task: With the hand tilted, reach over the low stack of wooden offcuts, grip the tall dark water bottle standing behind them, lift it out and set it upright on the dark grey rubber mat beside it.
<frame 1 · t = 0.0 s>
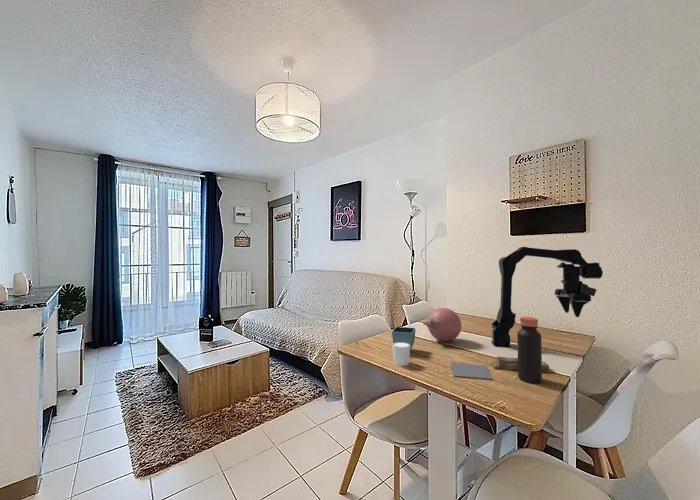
hand: (571, 314, 128), 15 cm above the table, tool pointing down, fingers open, 9 cm apart
pink onion-shaped ball: (440, 341, 141), on the table
grey mat: (469, 371, 105), on the table
white cylinder: (401, 363, 114), on the table
dark water bottle: (529, 380, 98), on the table
offcut stack: (520, 368, 108), on the table
flower pot: (403, 350, 128), on the table
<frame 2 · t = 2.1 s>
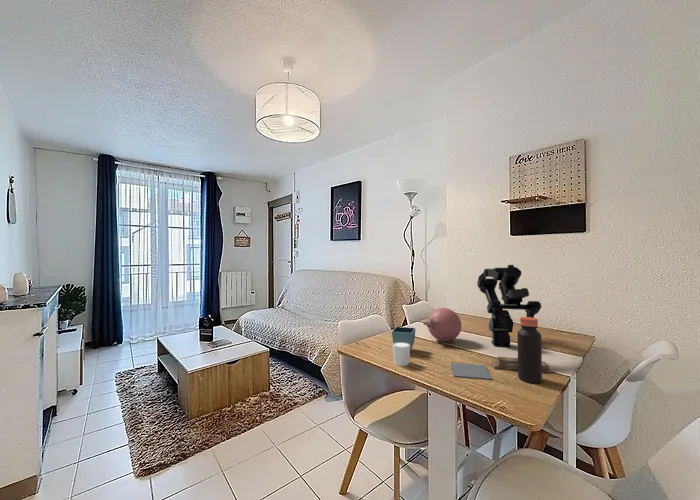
hand: (519, 326, 114), 14 cm above the table, tool tilted 40°, fingers open, 9 cm apart
nothing on the table moved.
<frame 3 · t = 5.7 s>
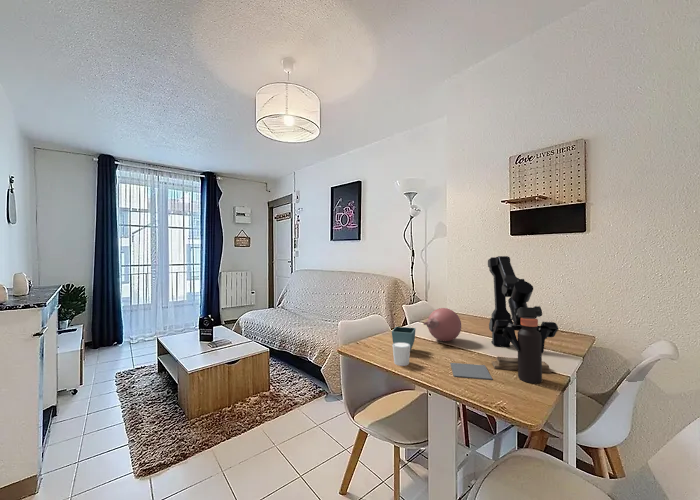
hand: (530, 351, 97), 10 cm above the table, tool tilted 45°, fingers closed on dark water bottle, 7 cm apart
dark water bottle: (529, 380, 98), on the table, touching gripper
everything else where it was.
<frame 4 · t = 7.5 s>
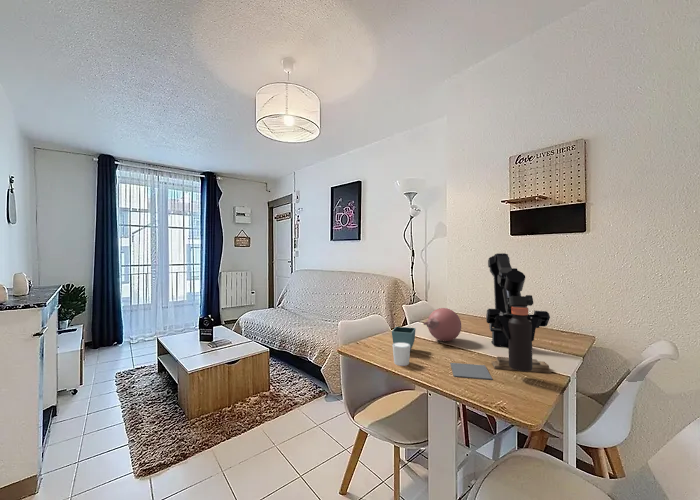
hand: (520, 339, 97), 13 cm above the table, tool tilted 45°, fingers closed on dark water bottle, 6 cm apart
dark water bottle: (520, 368, 99), point 3 cm above the table, touching gripper
everything else where it was.
when the fingers open (11 cm above the table, at t = 9.6 s): dark water bottle stays where it is, resting on grey mat.
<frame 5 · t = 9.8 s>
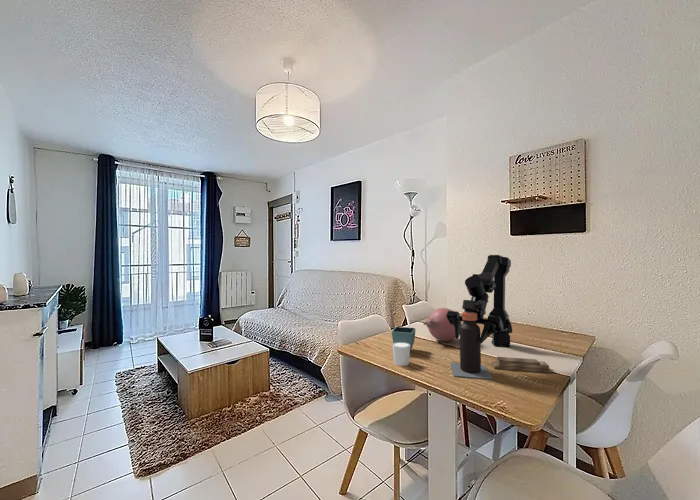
hand: (468, 340, 104), 11 cm above the table, tool tilted 45°, fingers open, 8 cm apart
dark water bottle: (470, 370, 105), resting on grey mat
everything else where it was.
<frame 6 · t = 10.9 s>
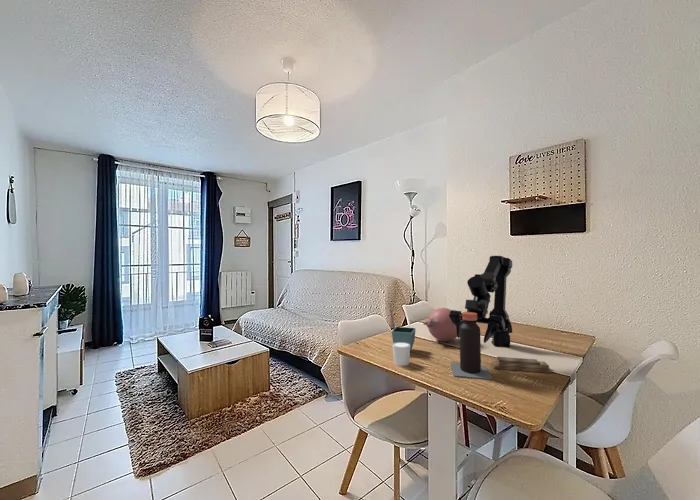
hand: (470, 339, 106), 11 cm above the table, tool tilted 45°, fingers open, 9 cm apart
nothing on the table moved.
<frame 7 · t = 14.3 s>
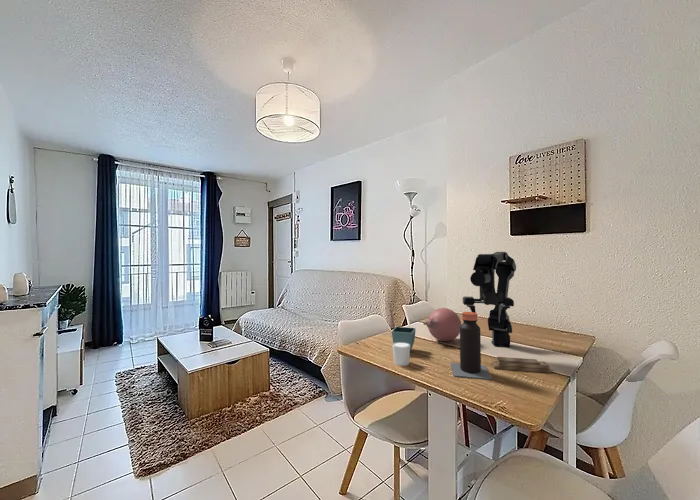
hand: (487, 322, 123), 13 cm above the table, tool pointing down, fingers open, 9 cm apart
nothing on the table moved.
at the end: dark water bottle inside the target area (0.4 cm from its centre), resting on grey mat; dark water bottle tilted 0°; the gripper is holding nothing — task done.
